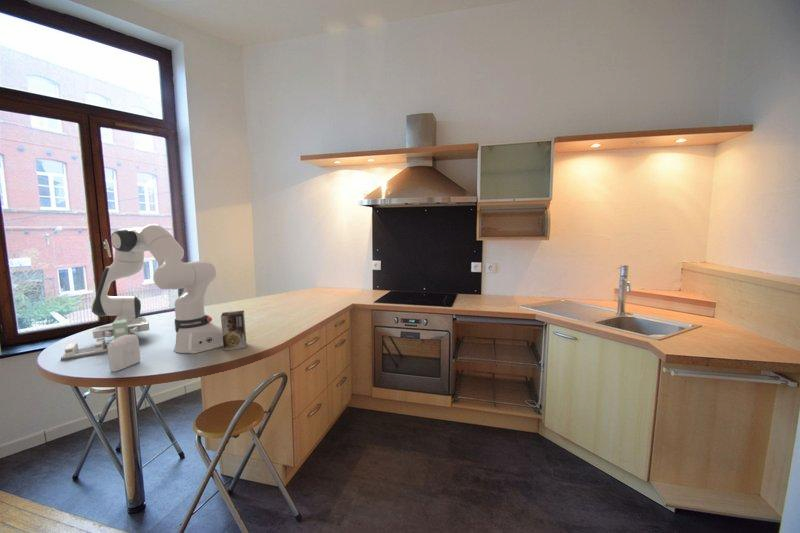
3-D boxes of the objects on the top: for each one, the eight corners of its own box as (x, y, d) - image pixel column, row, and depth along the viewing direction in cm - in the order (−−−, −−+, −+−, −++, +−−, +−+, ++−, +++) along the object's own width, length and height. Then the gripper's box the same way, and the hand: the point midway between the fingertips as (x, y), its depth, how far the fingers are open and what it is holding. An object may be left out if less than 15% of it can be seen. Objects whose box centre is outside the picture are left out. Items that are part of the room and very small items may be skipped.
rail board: (109, 345, 150) (108, 336, 149) (106, 352, 141) (105, 343, 140) (67, 352, 141) (65, 343, 141) (61, 360, 133) (59, 350, 132)
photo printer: (133, 360, 132) (130, 331, 131) (142, 361, 132) (139, 332, 130) (107, 371, 122) (103, 340, 121) (116, 372, 121) (113, 341, 120)
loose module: (129, 343, 152) (126, 319, 151) (128, 347, 147) (125, 322, 146) (116, 346, 149) (114, 320, 148) (115, 349, 144) (112, 324, 143)
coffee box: (246, 343, 151) (244, 310, 150) (245, 348, 146) (243, 313, 144) (225, 346, 148) (222, 312, 146) (223, 351, 142) (220, 315, 140)
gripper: (94, 323, 151) (88, 331, 140) (149, 316, 163) (148, 322, 152) (95, 336, 152) (90, 345, 141) (150, 328, 164) (149, 335, 153)
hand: (121, 333), depth 147 cm, fingers open, 7 cm apart
